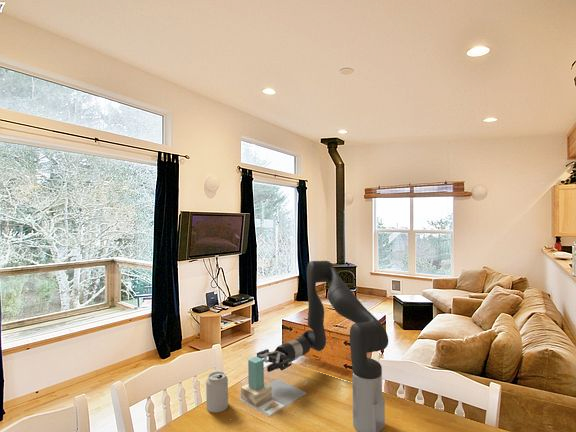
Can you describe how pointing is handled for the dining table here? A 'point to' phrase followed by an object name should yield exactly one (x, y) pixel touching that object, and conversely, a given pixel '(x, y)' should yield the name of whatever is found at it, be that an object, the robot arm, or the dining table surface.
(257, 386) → the pillar
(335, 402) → the dining table surface
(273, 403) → the mat
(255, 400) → the base block
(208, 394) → the can
